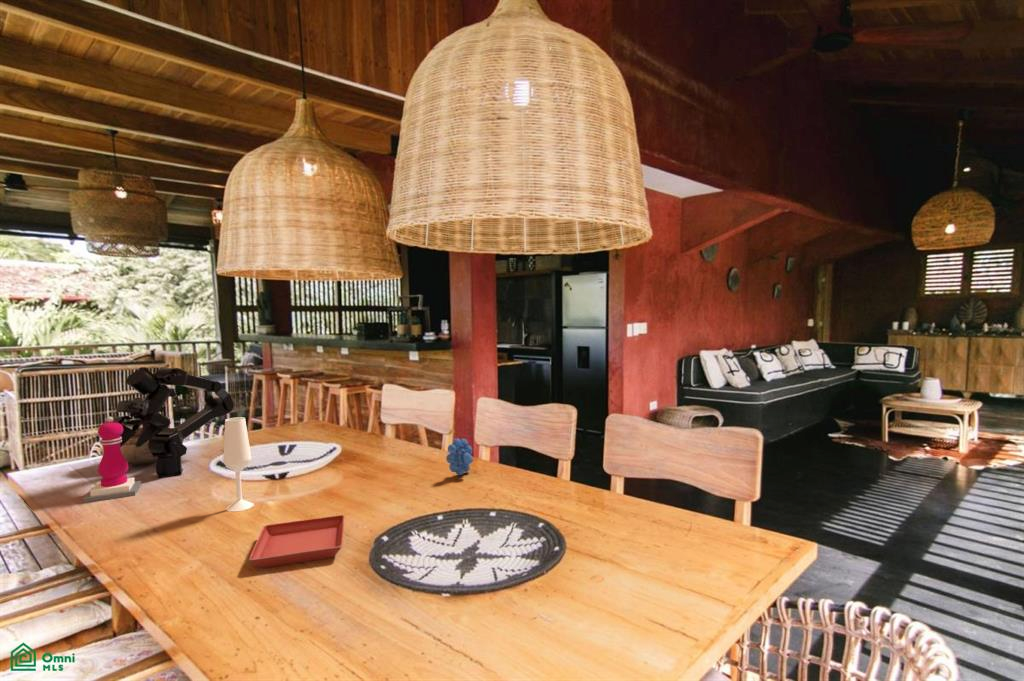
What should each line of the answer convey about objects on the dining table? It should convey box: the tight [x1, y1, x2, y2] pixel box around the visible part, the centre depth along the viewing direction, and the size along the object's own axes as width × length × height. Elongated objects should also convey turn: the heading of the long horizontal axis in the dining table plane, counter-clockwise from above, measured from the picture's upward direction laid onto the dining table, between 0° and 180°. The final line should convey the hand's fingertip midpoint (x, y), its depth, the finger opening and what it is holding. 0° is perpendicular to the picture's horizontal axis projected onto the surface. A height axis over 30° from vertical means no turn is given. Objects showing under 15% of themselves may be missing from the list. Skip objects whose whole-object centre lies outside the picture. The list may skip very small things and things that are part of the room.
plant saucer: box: [248, 514, 346, 568], centre depth 117 cm, size 18×18×3 cm
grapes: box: [445, 437, 474, 476], centre depth 164 cm, size 12×7×12 cm, turn 145°
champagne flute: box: [222, 416, 254, 512], centre depth 142 cm, size 7×7×24 cm
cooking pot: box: [120, 425, 172, 467], centre depth 186 cm, size 25×19×12 cm
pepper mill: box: [97, 416, 129, 487], centre depth 155 cm, size 7×7×20 cm
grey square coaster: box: [82, 477, 142, 504], centre depth 155 cm, size 12×11×3 cm
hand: (126, 447), depth 158 cm, fingers open, 9 cm apart
